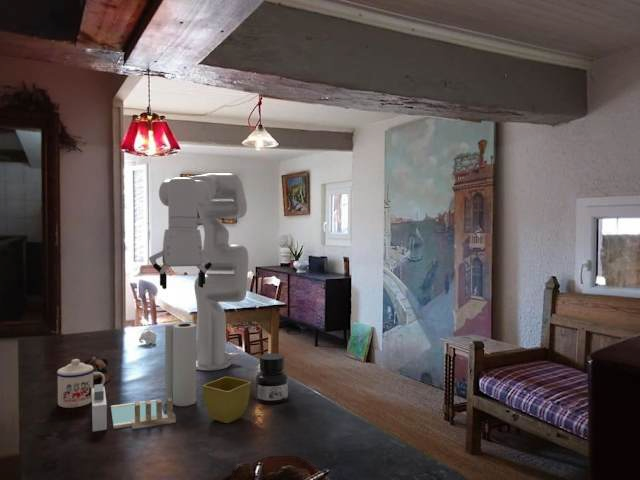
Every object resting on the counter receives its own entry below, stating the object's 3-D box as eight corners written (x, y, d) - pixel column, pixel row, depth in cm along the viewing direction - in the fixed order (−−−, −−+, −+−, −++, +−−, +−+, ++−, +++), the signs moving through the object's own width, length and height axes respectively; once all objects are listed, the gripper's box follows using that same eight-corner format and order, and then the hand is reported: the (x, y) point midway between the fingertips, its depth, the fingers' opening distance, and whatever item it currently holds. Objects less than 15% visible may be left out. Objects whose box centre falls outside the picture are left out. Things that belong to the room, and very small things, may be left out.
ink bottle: (256, 406, 134) (256, 361, 134) (252, 395, 143) (252, 353, 142) (292, 403, 137) (292, 359, 136) (285, 392, 145) (285, 351, 145)
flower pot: (228, 428, 119) (228, 391, 119) (201, 421, 124) (201, 384, 124) (251, 417, 127) (252, 381, 126) (225, 410, 131) (226, 375, 131)
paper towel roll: (200, 401, 137) (200, 324, 136) (183, 408, 132) (183, 327, 131) (182, 396, 141) (182, 321, 140) (165, 403, 136) (165, 324, 135)
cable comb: (174, 418, 125) (174, 397, 125) (175, 422, 123) (175, 400, 123) (131, 425, 121) (131, 402, 120) (132, 429, 118) (132, 406, 118)
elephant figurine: (137, 343, 203) (137, 328, 203) (158, 341, 207) (158, 327, 207) (139, 346, 197) (139, 331, 197) (160, 345, 201) (160, 330, 200)
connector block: (104, 409, 131) (104, 379, 131) (106, 429, 118) (106, 395, 118) (92, 411, 130) (91, 380, 129) (92, 431, 117) (92, 397, 117)
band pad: (158, 401, 137) (158, 399, 137) (166, 420, 124) (166, 417, 124) (110, 408, 132) (110, 405, 132) (113, 428, 119) (113, 425, 119)
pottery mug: (104, 387, 150) (89, 365, 148) (79, 399, 152) (63, 377, 150) (122, 366, 162) (107, 345, 160) (98, 377, 163) (84, 356, 161)
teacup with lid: (60, 411, 129) (59, 366, 129) (54, 401, 137) (53, 358, 136) (109, 401, 137) (109, 359, 136) (100, 392, 144) (100, 352, 144)
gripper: (211, 224, 142) (211, 285, 142) (147, 223, 135) (147, 287, 135) (218, 224, 135) (217, 287, 135) (150, 223, 128) (150, 290, 128)
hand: (182, 287), depth 135 cm, fingers open, 9 cm apart
